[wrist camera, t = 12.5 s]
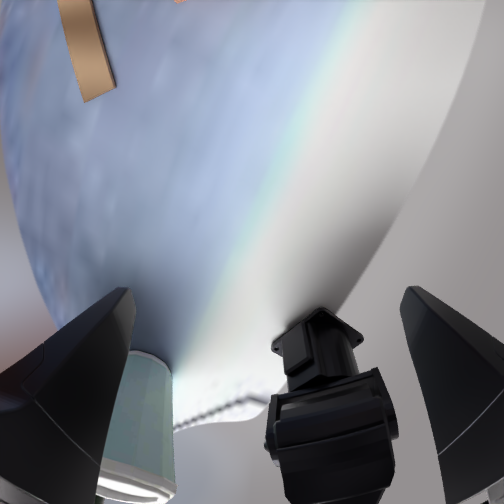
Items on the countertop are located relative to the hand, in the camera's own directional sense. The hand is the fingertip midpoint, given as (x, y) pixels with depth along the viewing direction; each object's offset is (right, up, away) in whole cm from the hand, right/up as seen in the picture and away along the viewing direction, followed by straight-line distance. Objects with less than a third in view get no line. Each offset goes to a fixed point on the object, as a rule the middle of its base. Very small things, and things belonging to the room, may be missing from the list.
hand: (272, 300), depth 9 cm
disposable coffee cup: (-12, -11, +21) cm, 27 cm away
